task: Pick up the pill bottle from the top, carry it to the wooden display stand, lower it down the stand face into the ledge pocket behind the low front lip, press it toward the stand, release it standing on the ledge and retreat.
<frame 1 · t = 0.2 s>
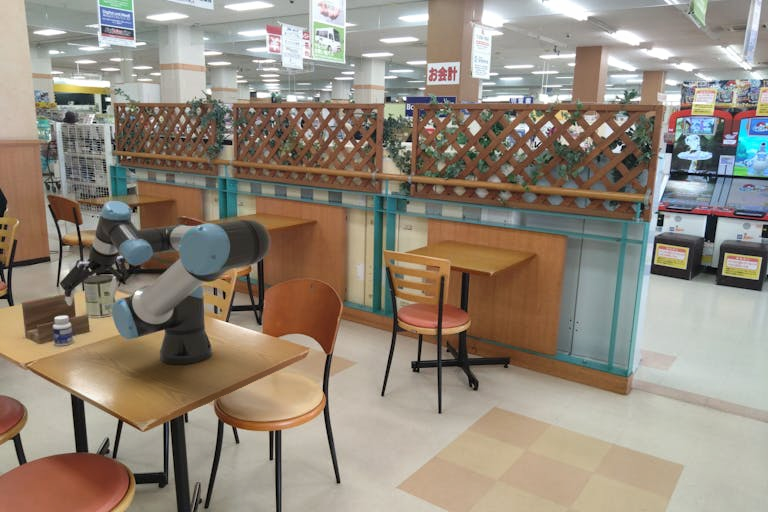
hand: (90, 298, 179), 16 cm above the table, tool tilted 35°, fingers open, 13 cm apart
coffee can: (101, 314, 217), on the table
wooden display stand: (56, 333, 194), on the table
pill bottle: (63, 344, 185), on the table
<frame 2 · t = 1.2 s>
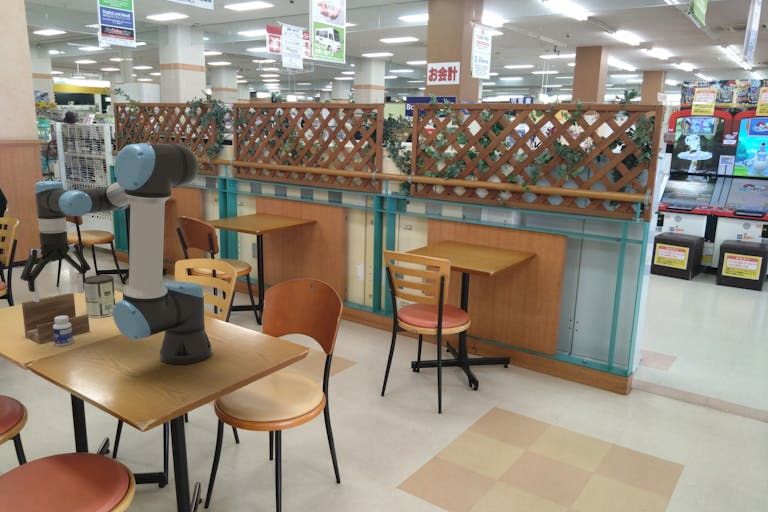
hand: (59, 296, 182), 16 cm above the table, tool pointing down, fingers open, 13 cm apart
nothing on the table moved.
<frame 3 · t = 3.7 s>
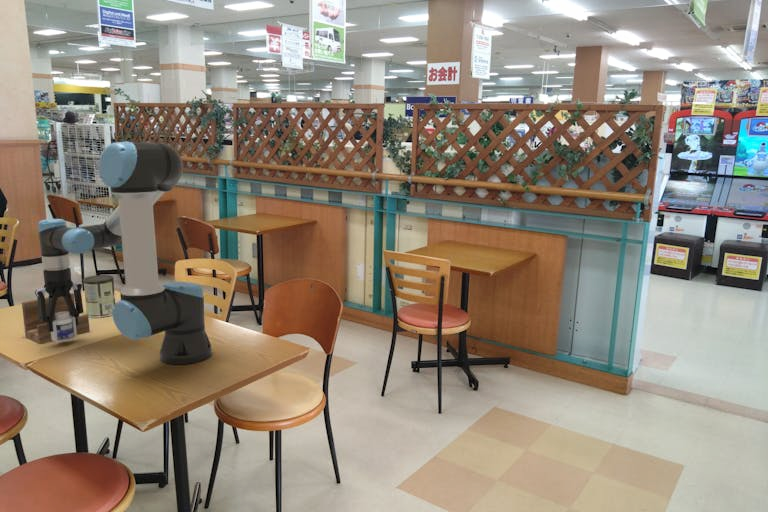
hand: (64, 338, 184), 2 cm above the table, tool pointing down, fingers closed on pill bottle, 5 cm apart
pill bottle: (65, 340, 184), point 1 cm above the table, touching gripper
everything else where it was.
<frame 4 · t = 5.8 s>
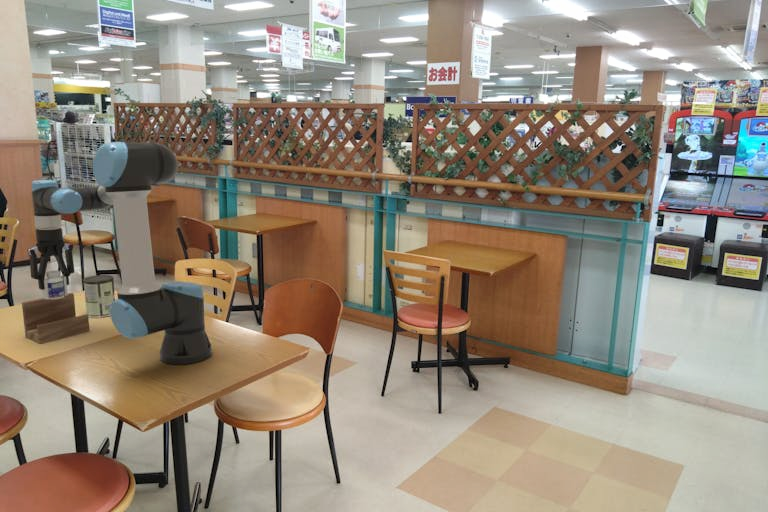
hand: (55, 296, 191), 13 cm above the table, tool pointing down, fingers closed on pill bottle, 5 cm apart
pill bottle: (55, 298, 190), point 13 cm above the table, touching gripper
everything else where it was.
when the fingers open (4 cm above the table, at t = 7.8 s): pill bottle stays where it is, resting on wooden display stand.
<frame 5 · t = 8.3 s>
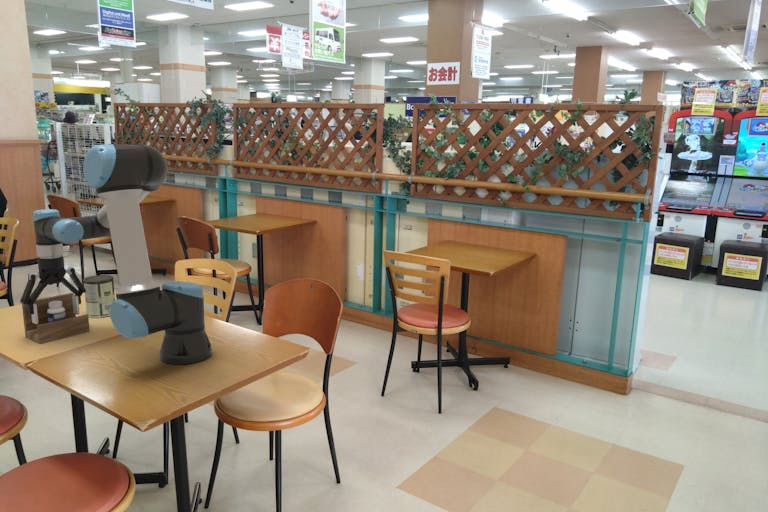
hand: (56, 318, 192), 6 cm above the table, tool pointing down, fingers open, 13 cm apart
pill bottle: (57, 327, 193), point 2 cm above the table, touching wooden display stand
everything else where it was.
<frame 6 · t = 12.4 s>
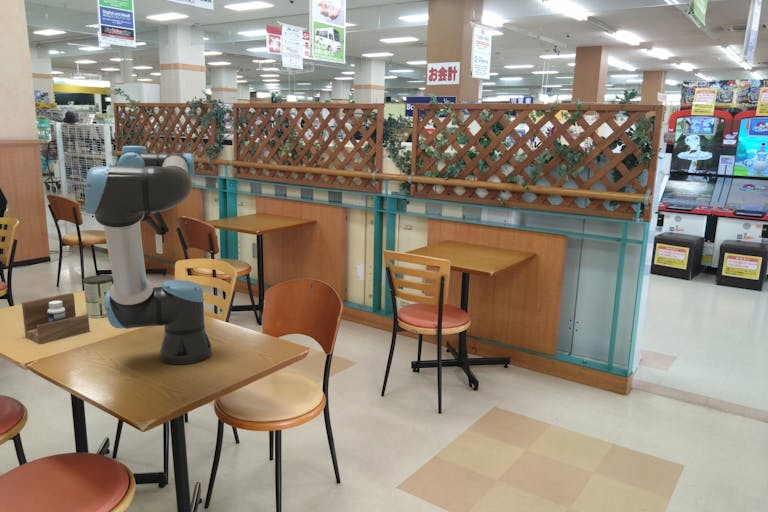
hand: (141, 256, 192), 27 cm above the table, tool pointing down, fingers open, 13 cm apart
nothing on the table moved.
at the end: pill bottle inside the target area on the wooden display stand (0.1 cm from its centre), point 2.3 cm above the wooden display stand's base; pill bottle tilted 0°; the gripper is holding nothing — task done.
